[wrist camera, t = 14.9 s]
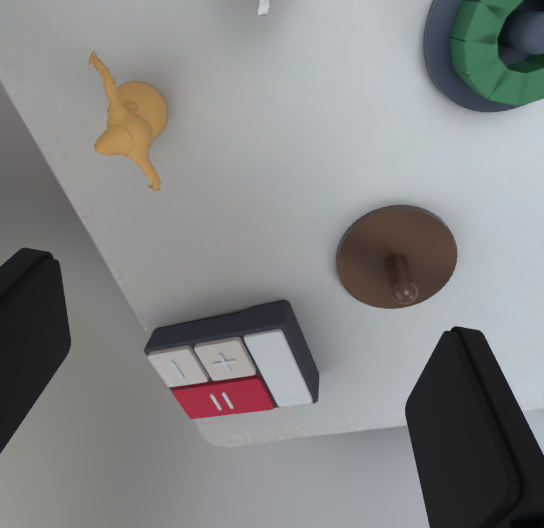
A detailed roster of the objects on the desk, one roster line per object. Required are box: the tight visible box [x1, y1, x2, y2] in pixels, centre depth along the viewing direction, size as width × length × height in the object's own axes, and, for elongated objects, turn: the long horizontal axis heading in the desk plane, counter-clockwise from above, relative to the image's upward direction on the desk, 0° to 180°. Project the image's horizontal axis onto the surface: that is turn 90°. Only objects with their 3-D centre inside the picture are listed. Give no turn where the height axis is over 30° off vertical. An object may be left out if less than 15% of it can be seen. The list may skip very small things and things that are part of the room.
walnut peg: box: [336, 205, 457, 309], centre depth 34 cm, size 10×10×6 cm
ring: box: [450, 0, 544, 106], centre depth 25 cm, size 7×7×3 cm
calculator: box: [144, 300, 319, 419], centre depth 43 cm, size 11×4×15 cm
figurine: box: [89, 51, 168, 191], centre depth 26 cm, size 8×6×12 cm
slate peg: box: [424, 0, 544, 112], centre depth 24 cm, size 10×10×6 cm
